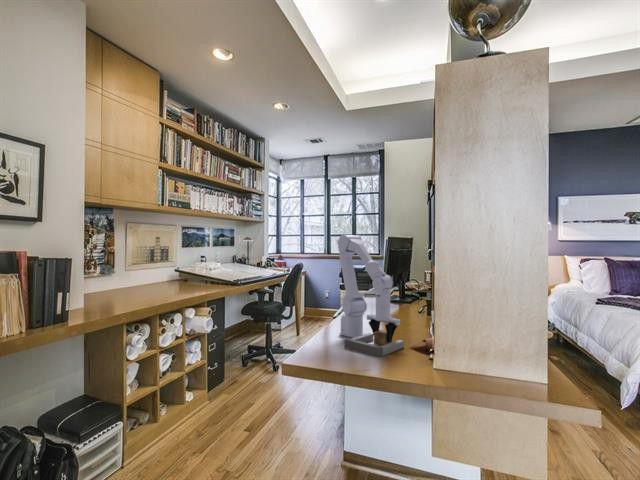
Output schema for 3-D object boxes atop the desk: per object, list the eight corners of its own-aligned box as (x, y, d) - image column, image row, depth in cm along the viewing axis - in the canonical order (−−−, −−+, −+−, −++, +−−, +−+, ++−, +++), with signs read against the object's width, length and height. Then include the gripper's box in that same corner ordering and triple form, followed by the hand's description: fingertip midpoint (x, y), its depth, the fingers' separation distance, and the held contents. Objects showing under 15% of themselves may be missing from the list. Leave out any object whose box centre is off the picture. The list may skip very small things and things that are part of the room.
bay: (344, 347, 121) (344, 339, 121) (369, 339, 132) (369, 331, 132) (379, 357, 109) (379, 348, 110) (403, 347, 121) (403, 339, 121)
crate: (373, 344, 125) (373, 331, 125) (381, 341, 129) (381, 329, 129) (384, 347, 121) (384, 334, 122) (392, 344, 125) (392, 331, 125)
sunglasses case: (431, 340, 131) (439, 327, 129) (445, 352, 126) (454, 339, 124) (407, 348, 119) (415, 335, 117) (422, 362, 114) (430, 349, 112)
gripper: (362, 304, 128) (362, 338, 127) (393, 309, 118) (393, 346, 117) (372, 302, 133) (372, 335, 132) (403, 307, 123) (403, 342, 122)
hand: (382, 340), depth 125 cm, fingers open, 5 cm apart
